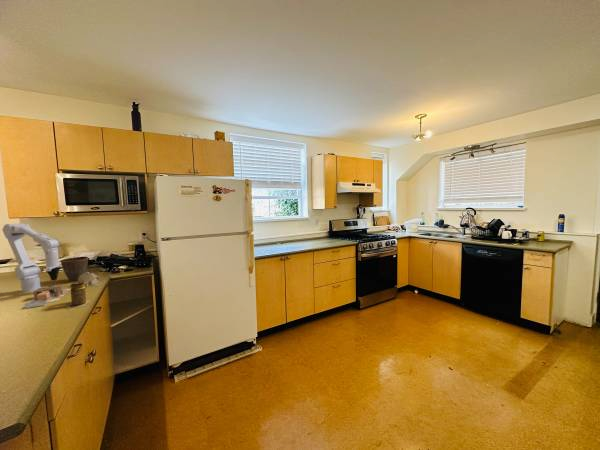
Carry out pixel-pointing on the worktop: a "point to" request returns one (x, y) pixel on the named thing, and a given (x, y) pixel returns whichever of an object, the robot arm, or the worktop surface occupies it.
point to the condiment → (78, 295)
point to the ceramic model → (89, 279)
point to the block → (43, 296)
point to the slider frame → (41, 302)
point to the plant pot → (74, 267)
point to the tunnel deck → (58, 294)
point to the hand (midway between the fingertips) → (54, 279)
